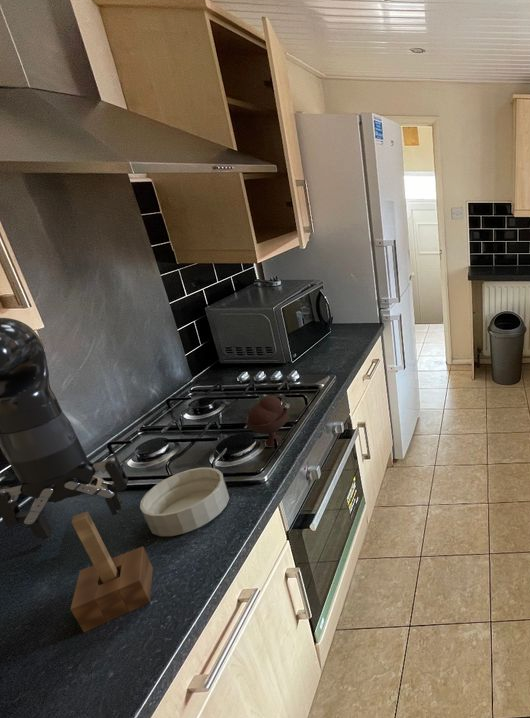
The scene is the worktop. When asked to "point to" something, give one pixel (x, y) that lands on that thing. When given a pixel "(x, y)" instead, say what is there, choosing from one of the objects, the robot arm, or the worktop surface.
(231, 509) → the worktop surface
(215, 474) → the mixing bowl
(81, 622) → the stick holder
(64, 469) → the robot arm
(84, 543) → the stick
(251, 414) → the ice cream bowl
